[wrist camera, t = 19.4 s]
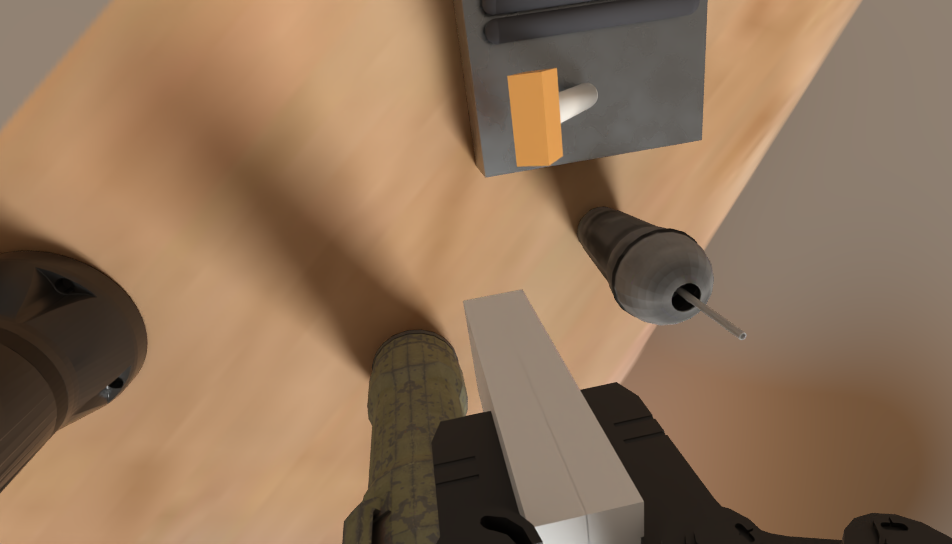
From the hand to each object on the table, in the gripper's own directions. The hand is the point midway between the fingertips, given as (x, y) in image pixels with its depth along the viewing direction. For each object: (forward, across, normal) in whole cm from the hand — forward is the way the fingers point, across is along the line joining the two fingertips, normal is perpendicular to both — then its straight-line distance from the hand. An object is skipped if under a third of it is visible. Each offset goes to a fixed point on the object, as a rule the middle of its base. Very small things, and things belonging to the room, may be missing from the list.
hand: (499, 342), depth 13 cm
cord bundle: (+27, +13, +9) cm, 32 cm away
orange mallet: (+27, +12, +3) cm, 29 cm away
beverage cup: (+33, +15, -10) cm, 37 cm away
